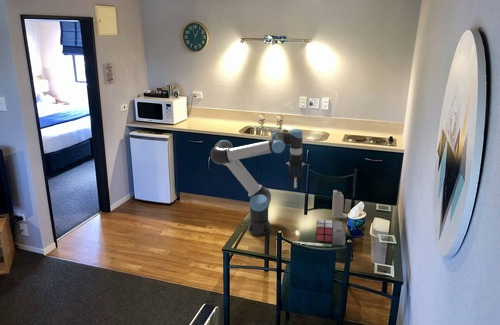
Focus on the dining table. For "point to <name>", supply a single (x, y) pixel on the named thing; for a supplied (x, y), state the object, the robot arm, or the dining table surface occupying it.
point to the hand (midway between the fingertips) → (295, 187)
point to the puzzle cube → (324, 230)
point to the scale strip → (315, 244)
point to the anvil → (338, 234)
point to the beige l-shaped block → (338, 205)
